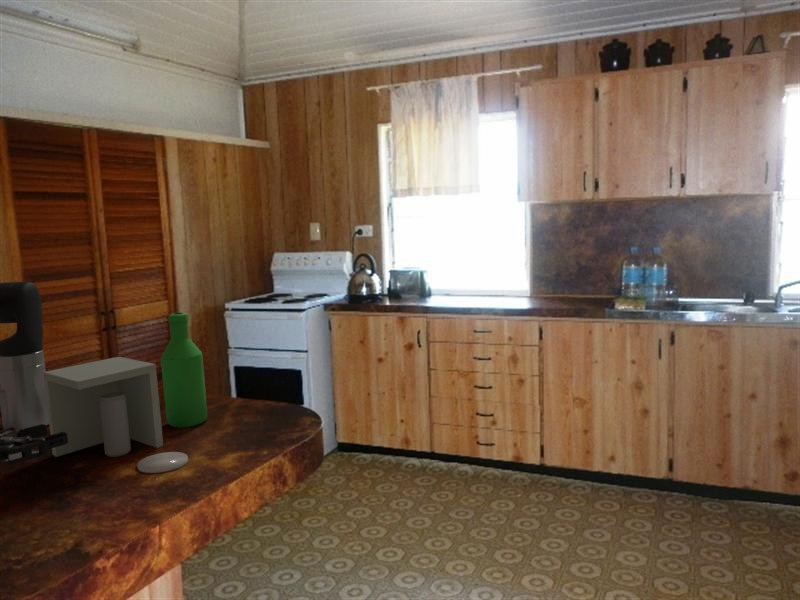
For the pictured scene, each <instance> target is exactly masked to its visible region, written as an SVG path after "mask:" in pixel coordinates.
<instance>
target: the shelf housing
mask: <svg viewBox="0 0 800 600" xmlns="http://www.w3.org/2000/svg"><path fill="white" fill-rule="evenodd" d="M156 364H157V363H152V362H147V361H142V360H137V359H131V358H128V357H121V356H116V357H111V358H106V359H105V358H104V359H101V360H97V361H91V362H87V363H83V364H77V365H72V366H67V367H62V368H57V369H53V370H48V371H46V372H43V375H44V383H45V392H46V400H47V409H48V417H49V424H48V425H49V426H48V427H49V433H50V435H53V434H56V433H60V432H65V433H67V438H68V443H67V444H65V445H62V446H58V447H55V448H51V449H52V451H51V452H52V456H53V455H54V456H53V457H60V456H63V455H67V454H71V453H73V452H76V451H80V450H84V449H87V448H91V447H93V446H97V445H100V444H104V440H103V431H102V422H101V414H100V404H99V399H100V395H102V394H105V393H110V392H124V393H125V394H124V395H125V396H126V404H127V414H128V424H129V434H130V440H133V441H135V442H139V443H142V444H144V445H148V446H149V445H150V446H149V447H152V446H153V448H155V447H156V449H157V448H161V447H164V439H163V428H162V418H161V408H160V406H161V405H160V396H159V385H158V374H157V365H156Z"/></svg>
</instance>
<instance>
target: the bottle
mask: <svg viewBox="0 0 800 600" xmlns="http://www.w3.org/2000/svg"><path fill="white" fill-rule="evenodd" d="M189 320H190V319H189V316H188V313H186V312H173V313H171V314H169V315H168V320H167V322H168V323H169V329H170V330H169V331H170V332H169V333H170V340H169V343H168V344H167V346H166V348H165V349H164V351H163V353H162V354H161V356H160V366H161V375H162V388H163V396H164V397H163V398H164V399H163V400H164V408H165V417H166V418H165V420H166V423H167V424H168V425H169V426H171V427H173V428H176V427H178V428H179V429H185V428H184V427H186V428H191V426H192V427H196V426H199V425H201V424H203V423H204V422H205V421H206V419H207V418H208V406H207V395H206V383H205V371H204V370H205V369H204V359H203V357H204V356H203V353H202V351H201V350H200V349H199V347H198V346H197V345H196V344H195V343H194V342H193V340H192V339H191V338H190V332H189ZM198 424H199V425H198ZM195 425H196V426H195ZM182 427H183V428H182Z"/></svg>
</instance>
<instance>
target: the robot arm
mask: <svg viewBox="0 0 800 600" xmlns="http://www.w3.org/2000/svg"><path fill="white" fill-rule="evenodd" d="M0 324H3V325H4V324H16V332H15V333H13V334H12V335H11V336H9V337H5V338H4V339H1V340H0V413H1V414H0V415H1V421H2V429H1V430H0V461H2V462H8V465H10V466H11V465H15V464H18V463H19V464H20V463H22V462H25V461H30V460H32V459H37V458H40V457H45V456H47V455H48V450H50V449H52V448H55V447H58V446H62V445H65V444H67V443H68V438H67V433H65V432H60V433H56V434H53V435H49V434H48V429H47V428H48V427H47V426H48V425H49V417H48V409H47V400H46V392H45V383H44V375H43V372H46V363H45V362H46V361H45V353H44V345H43V342H44V326H43V325H44V322H43V303H42V298H41V293H40V290H39V288H38V287H37V285H36V284H35V283H33V282H31V281H10V282H9V281H7V282H0ZM36 447H37V448H36Z"/></svg>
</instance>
